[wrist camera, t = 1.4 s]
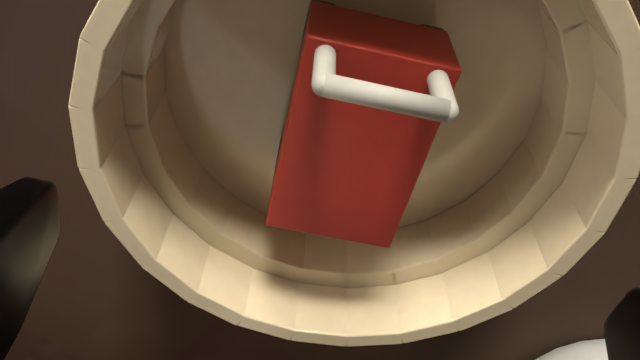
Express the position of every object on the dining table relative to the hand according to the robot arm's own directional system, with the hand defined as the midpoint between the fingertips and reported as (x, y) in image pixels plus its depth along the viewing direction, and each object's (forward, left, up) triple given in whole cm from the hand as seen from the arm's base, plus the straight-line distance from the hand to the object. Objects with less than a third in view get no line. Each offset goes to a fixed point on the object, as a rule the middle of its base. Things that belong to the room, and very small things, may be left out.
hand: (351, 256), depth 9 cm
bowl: (-2, +3, -13) cm, 13 cm away
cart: (-2, +3, -12) cm, 13 cm away
